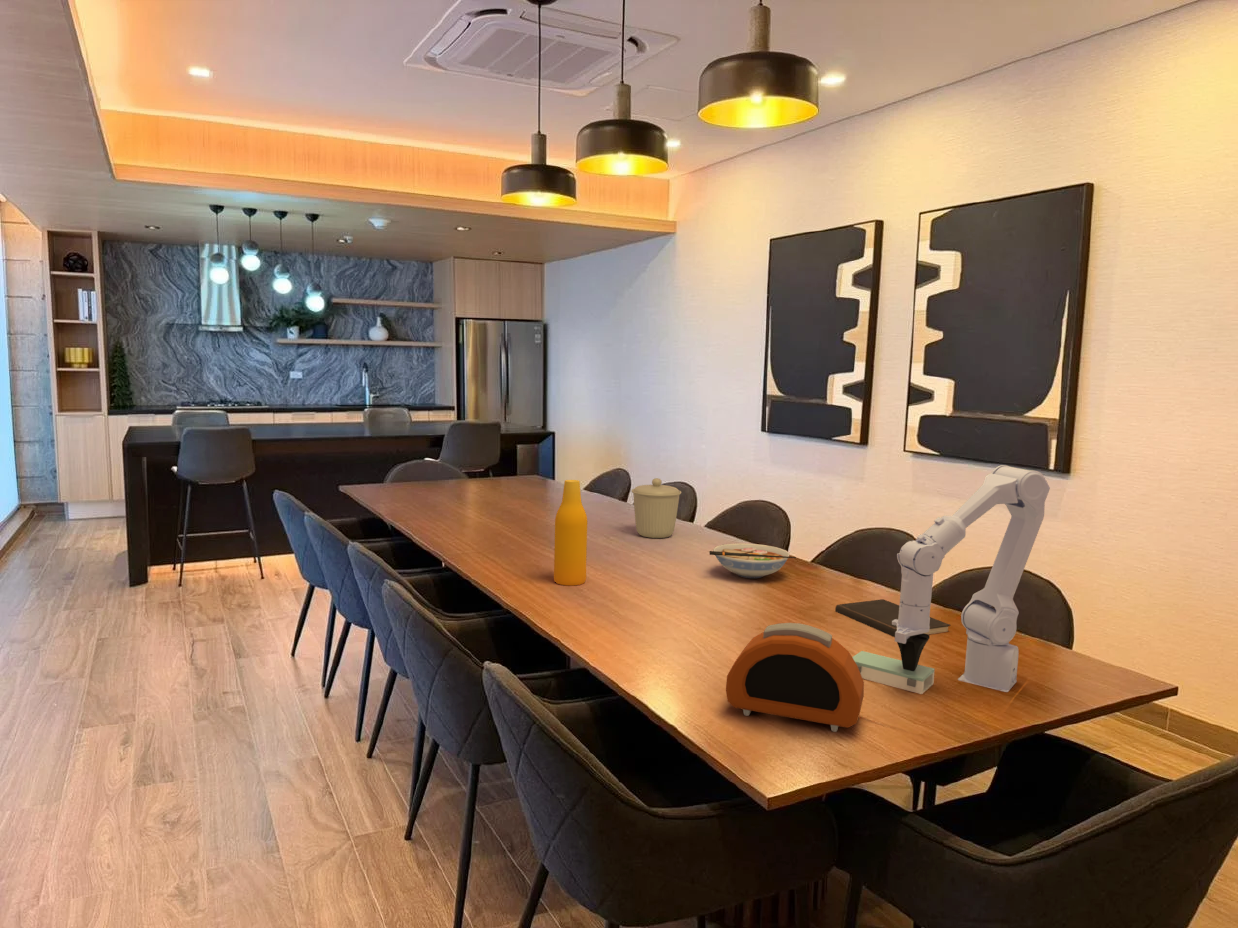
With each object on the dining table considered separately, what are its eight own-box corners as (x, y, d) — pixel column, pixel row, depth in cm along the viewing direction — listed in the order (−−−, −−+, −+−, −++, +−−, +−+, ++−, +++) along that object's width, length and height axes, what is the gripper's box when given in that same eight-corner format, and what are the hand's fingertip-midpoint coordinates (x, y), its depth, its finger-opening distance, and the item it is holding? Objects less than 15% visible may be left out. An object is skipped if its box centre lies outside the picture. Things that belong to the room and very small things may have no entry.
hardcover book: (882, 607, 221) (883, 599, 220) (949, 633, 200) (950, 624, 200) (834, 613, 214) (835, 604, 214) (899, 641, 193) (900, 631, 193)
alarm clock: (723, 713, 149) (727, 623, 147) (735, 695, 158) (739, 610, 156) (857, 737, 141) (864, 643, 139) (862, 717, 149) (868, 627, 147)
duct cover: (934, 671, 164) (934, 668, 164) (922, 681, 159) (923, 678, 159) (861, 653, 174) (861, 650, 174) (848, 662, 168) (848, 659, 168)
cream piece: (933, 686, 165) (934, 671, 164) (920, 697, 159) (921, 682, 158) (860, 667, 174) (861, 653, 174) (846, 677, 168) (847, 663, 168)
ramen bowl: (788, 568, 258) (789, 542, 257) (796, 588, 235) (798, 559, 234) (707, 564, 260) (709, 538, 259) (708, 583, 238) (709, 555, 237)
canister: (626, 539, 294) (628, 480, 291) (634, 529, 311) (635, 473, 309) (677, 542, 291) (679, 483, 288) (681, 532, 309) (684, 476, 306)
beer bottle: (566, 587, 228) (569, 484, 225) (547, 580, 235) (548, 479, 232) (592, 582, 234) (595, 481, 231) (572, 575, 241) (574, 477, 238)
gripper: (907, 591, 170) (901, 655, 172) (881, 606, 159) (876, 673, 160) (942, 598, 166) (936, 663, 168) (918, 613, 155) (912, 683, 156)
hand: (909, 669), depth 164 cm, fingers closed, pressing on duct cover
